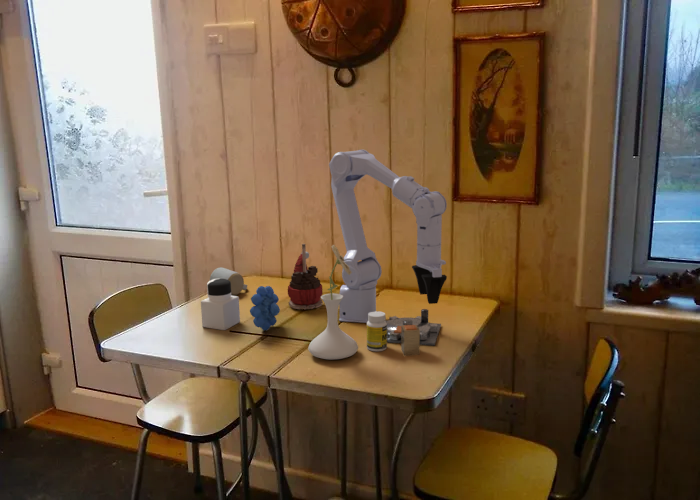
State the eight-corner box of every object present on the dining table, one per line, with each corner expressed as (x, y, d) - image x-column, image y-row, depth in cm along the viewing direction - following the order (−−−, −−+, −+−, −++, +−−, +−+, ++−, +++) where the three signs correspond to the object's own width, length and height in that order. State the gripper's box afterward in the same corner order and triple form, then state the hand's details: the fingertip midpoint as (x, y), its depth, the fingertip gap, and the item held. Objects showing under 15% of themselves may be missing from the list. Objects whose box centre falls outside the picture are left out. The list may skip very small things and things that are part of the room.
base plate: (372, 341, 156) (372, 338, 156) (383, 322, 170) (383, 319, 170) (434, 345, 153) (434, 343, 153) (441, 325, 166) (441, 323, 166)
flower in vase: (353, 365, 142) (352, 254, 137) (303, 362, 144) (299, 253, 139) (363, 343, 155) (361, 241, 149) (316, 341, 157) (313, 240, 151)
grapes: (268, 340, 158) (266, 293, 156) (245, 336, 161) (242, 290, 158) (292, 325, 169) (290, 280, 166) (269, 321, 171) (267, 278, 169)
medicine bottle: (240, 322, 172) (238, 278, 169) (224, 330, 165) (221, 285, 163) (218, 318, 175) (215, 275, 172) (201, 327, 168) (198, 282, 166)
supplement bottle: (385, 352, 149) (385, 317, 148) (365, 351, 150) (364, 316, 148) (388, 344, 154) (388, 311, 152) (368, 343, 155) (368, 310, 153)
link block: (404, 355, 148) (404, 329, 146) (401, 349, 151) (401, 324, 149) (419, 354, 148) (419, 329, 146) (416, 349, 151) (416, 323, 150)
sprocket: (399, 344, 152) (399, 326, 151) (369, 326, 164) (369, 309, 163) (447, 334, 158) (447, 317, 157) (414, 317, 170) (414, 301, 169)
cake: (308, 314, 177) (306, 249, 173) (281, 309, 182) (278, 246, 178) (330, 303, 186) (328, 242, 182) (303, 298, 191) (301, 238, 187)
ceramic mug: (228, 299, 192) (227, 273, 190) (209, 294, 196) (208, 269, 195) (254, 291, 200) (253, 266, 198) (235, 286, 205) (234, 263, 203)
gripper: (454, 249, 148) (453, 306, 151) (436, 236, 162) (435, 289, 165) (424, 251, 147) (424, 308, 150) (409, 238, 161) (408, 290, 164)
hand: (428, 298), depth 158 cm, fingers open, 7 cm apart
